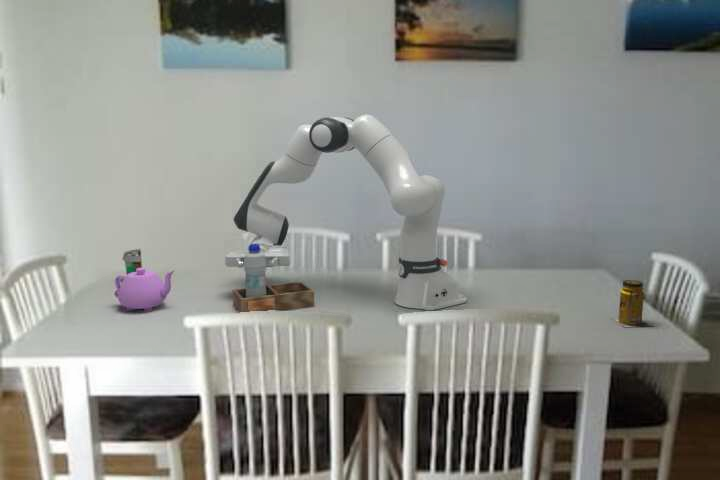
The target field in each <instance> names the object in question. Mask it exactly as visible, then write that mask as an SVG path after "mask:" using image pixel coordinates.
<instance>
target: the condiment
mask: <svg viewBox="0 0 720 480" xmlns="http://www.w3.org/2000/svg"><path fill="white" fill-rule="evenodd" d="M643 286H644V283H643V281H640V280H635V279H625V280H623V281H622V287H621V288H622V289H621V290H620V296H619V297H620V298H619V309H618V318H613V321H615V322H616V323H618V324H619V325H620V326H622V327H624V328H638V327H639V328H640V327H650V326H651V327H652V326H653V327H654V324H652V323H650V322H648V321H647V320H645V319H643V311H644V309H643V308H644V298H645V297H644V296H645V294H644V291H643V290H644V287H643Z"/></svg>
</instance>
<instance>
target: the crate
mask: <svg viewBox="0 0 720 480" xmlns="http://www.w3.org/2000/svg"><path fill="white" fill-rule="evenodd" d="M266 295H267V296H260V297H251V298H246V287H240V288H234V289H232V305H233V306H235V309H236V311H237V312H238V311H239V312H250V311H268V310H283V311H289V310H290V311H291V310H297V309H304V308H311V307H315V290H314V289H312V288H311V287H310V286H309V285H308V284H306V283H304V282H303V281H294V282H293V281H292V282H286V283H277V284H268V285H266ZM239 312H238V313H239Z"/></svg>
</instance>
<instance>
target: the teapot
mask: <svg viewBox="0 0 720 480" xmlns="http://www.w3.org/2000/svg"><path fill="white" fill-rule="evenodd" d="M174 272H176V269H174V270H171V271H168V272H166V273H165V277H164V282H163V281H162V279H161V278H160V276H159V275H158V274H157V273H156V272H154V271H153V270H152V271H151V270H147V269H146V267H142V268H137V269H136V272H132V273H129V274H128V275H127V274H125V273H122V274H119V275H117V276H116V277H115V279H114V283H115V286H116V289H117V290H115V291H114V297H115V298H117V300H118V303H120V304H121V305H122V306H123V307H124V308H126V309H125V311H127V312H128V311H134V310H139V309H140V310H141V309H142V310H144V312H151V311H153V308H154V307H158V306H160V305H162V303H163V302H165V300H166V298H167V295H169V293H170V291H171V288H172V281H171V280H172V279H171V278H172V275H173V273H174ZM121 278H122V279H123V281H122V282H120V279H121ZM120 283H121V284H120Z"/></svg>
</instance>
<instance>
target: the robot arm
mask: <svg viewBox="0 0 720 480" xmlns="http://www.w3.org/2000/svg"><path fill="white" fill-rule="evenodd" d="M354 149H356V150H357V151H358V152H359V153H360V155H362V156H363V158H364V159H365V160H366V161H367V163H368V164H369V165H370V167H371V168H372V169H373V171H375V172H376V174H377V175H378V176H379V178H380V180H381V182H382V183H383V185H384V187H385V188H386V191H387V193H388V194H389V195H388V196H389V197H390V204H391V206H392V209H393V210H394V211H395V212H396V213H397V214H398V215H400V216H403V217H404V221H403V225H402V228H401V230H400V234H399V236H400V237H399V241H400V242H399V244H400V246H399V248H400V249H399V251H400V252H399V254H400V255H399V257H398V268H397V269H398V276H399V277H398V285H397V290H396V296H395V297H394V303H395V304H396V305H398V306H400V307H404V308H409V309H417V310H418V309H420V310H425V311H435V309H436V310H439V309H444V308H448V307H452V306H458V305H461V304H464V303H467V297H466V296H465V295H464V294H463V293H460V288H459V283H458V282H457V280H456V279H455V278H454V277H452V276H451V275H449V274H448V273H447V272H446V271H444V270H443V269H442V267H447V266H448V261H447V260H446V259H443V258H441V259H440V258H439V257H437V243H438V242H437V236H438V229H439V222H440V217H441V211H442V204H443V200H444V197H445V194H446V193H445V192H446V191H445V186H444V184H443V182H442V181H441V180H440V179H439V178H437V177H435V176H432V175H427V174H425V175H424V174H422V175H419V174H418V172H417V171H416V169H415V167H414V165H413V164H412V162H411V157H410V155H409V153H408V152H407V151H406V149H405V148H404V146H403V145H401V143H400V142H399V140H398V139H397V138H396V137H395V136H394V134H393V133H392V132H391V131H390V130H389V129H388V128H387V127H386V126H385V125H384V124H383V123H382V122H380V120H379V119H377V118H376V117H375V116H373V115H371V114H362V115H360V116H358V117H357V118H355V119H353V118H350V117H340V116H329V117H322V118H320V119H317V120H316V121H315V122H314V123H312V124H307V123H306V124H302V125H299V126H298V127H297V129H296V130H295V131H294V133H293V134H292V136H291V138H290V140H289V142H288V144H287V146H286V149H284V150H285V151H284V153H283V154H282V156H281V157H280V158H279V159H277V160H275V161H271V162H269V163H268V164H267V165H266V167H265V168H264V169H263V171H262V173H261V174H260V175H259V177H257V179H256V181H255V183H253V186H252V187H251V189H250V190H249V192H248V194H247V195H246V197H245V199H244V200H243V201H241V203H240V204H239V205H238V207H237V208H236V210H235V211H234V214H233V223H234V224H235V226H236V229H238V230H241V231H244V232H249V233H251V234H253V235H255V237H253V239H252V240H251V241H250V243H249V245H250V244H259V246H260V252H262V253H264V255H265V260H266V268H275V267H288V266H290V264H291V263H290V262H291V261H290V251H289V249H288V248H287V246H286V245H285V244H283V243H284V242H285V241H286V237H287V235H288V230H289V227H290V223H289V220H288V218H287V216H285V215H283V214H282V213H279V212H276V211H274V210H271V209H270V208H266V207H264V206H262V205H260V204H259V203H258V201H259V200H260V198H261V197H262V195H263V194H264V192H265V191H266V189H267V188H268V187H269V186H271V185H274V184H291V185H292V184H301V183H303V182H306V181H307V180H308V179H310V178H311V176H312V174H313V173H314V171H315V169H316V167H317V165H318V162H319V160H320V158H321V155H322V154H323V153H326V154H327V153H328V154H329V153H336V154H338V153H340V154H341V153H343V152H349V151H352V150H354ZM248 252H249V246H248V247H247V249H246V250H236V251H234V250H233V251H230V252H228V253H227V254H226V255H225V257H224V263H225V267H229V268H230V267H231V268H235V267H238V268H240V269H241V268H244V257H245V254H247V253H248Z"/></svg>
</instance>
